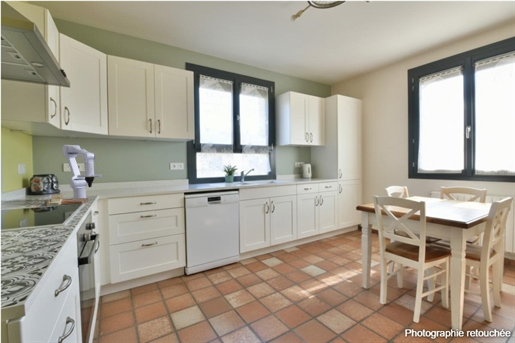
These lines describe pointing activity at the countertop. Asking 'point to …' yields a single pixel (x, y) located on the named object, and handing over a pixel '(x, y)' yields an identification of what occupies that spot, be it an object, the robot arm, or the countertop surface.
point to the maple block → (56, 198)
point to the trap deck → (66, 202)
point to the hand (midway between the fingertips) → (90, 187)
